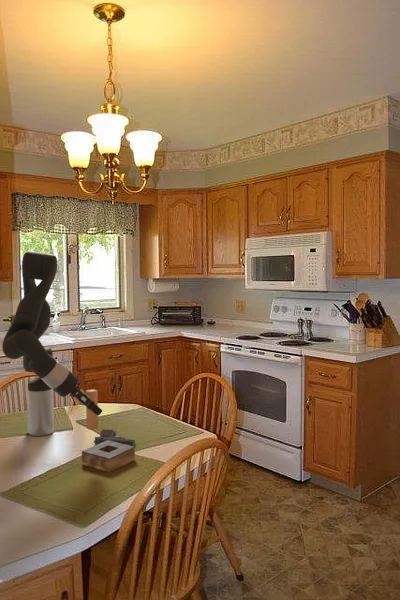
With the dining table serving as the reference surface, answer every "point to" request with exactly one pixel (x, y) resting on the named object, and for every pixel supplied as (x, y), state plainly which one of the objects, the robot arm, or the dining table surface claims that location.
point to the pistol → (112, 438)
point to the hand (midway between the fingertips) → (98, 411)
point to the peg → (90, 415)
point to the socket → (108, 455)
